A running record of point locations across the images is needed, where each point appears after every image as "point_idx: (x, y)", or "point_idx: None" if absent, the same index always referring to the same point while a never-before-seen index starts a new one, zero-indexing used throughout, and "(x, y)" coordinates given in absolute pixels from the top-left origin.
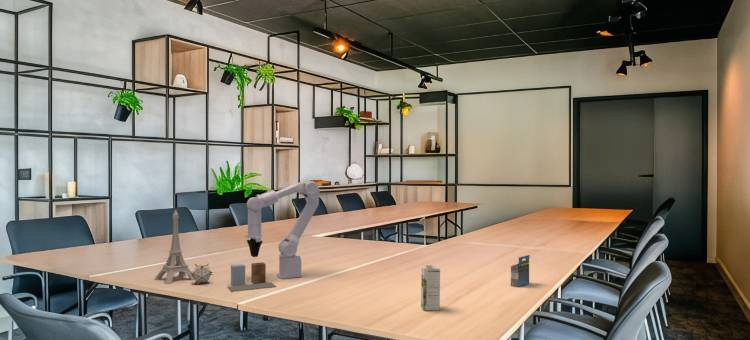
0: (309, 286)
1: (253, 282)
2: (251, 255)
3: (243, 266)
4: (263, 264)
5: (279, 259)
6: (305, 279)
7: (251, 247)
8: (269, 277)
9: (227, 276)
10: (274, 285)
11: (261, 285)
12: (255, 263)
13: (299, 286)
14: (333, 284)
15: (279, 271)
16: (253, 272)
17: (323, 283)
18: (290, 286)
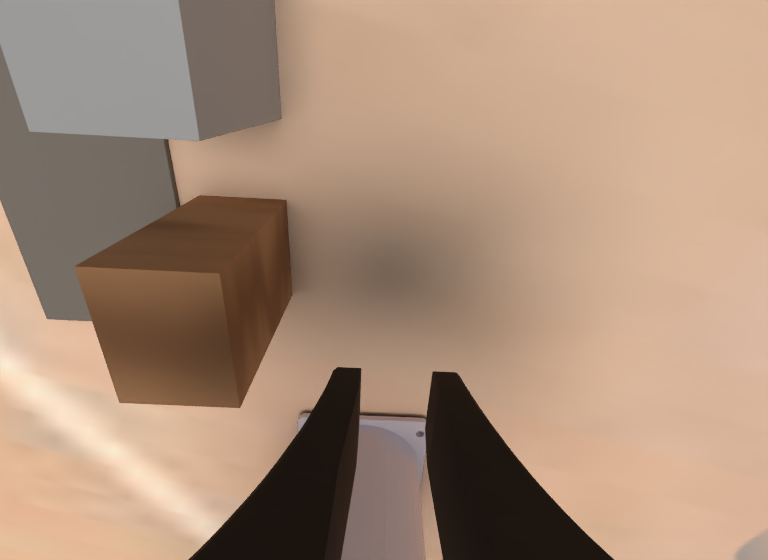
0: (38, 468)
1: (199, 199)
2: (435, 377)
3: (27, 97)
4: (116, 379)
5: (361, 553)
6: (234, 502)
7: (251, 514)
8: (395, 365)
9: (678, 49)
10: (75, 315)
11: (94, 232)
12: (190, 316)
13: (47, 430)
14: (69, 555)
15: (366, 451)
16: (152, 229)
17: (103, 533)
18: (55, 392)
